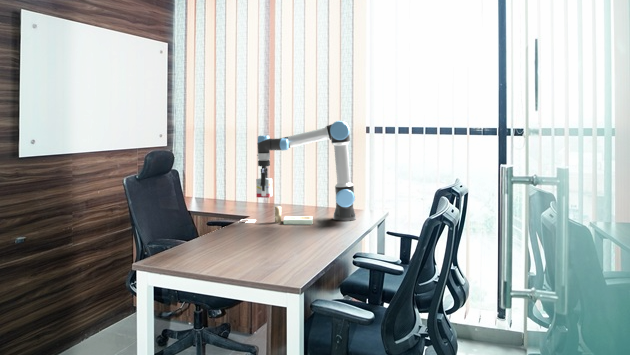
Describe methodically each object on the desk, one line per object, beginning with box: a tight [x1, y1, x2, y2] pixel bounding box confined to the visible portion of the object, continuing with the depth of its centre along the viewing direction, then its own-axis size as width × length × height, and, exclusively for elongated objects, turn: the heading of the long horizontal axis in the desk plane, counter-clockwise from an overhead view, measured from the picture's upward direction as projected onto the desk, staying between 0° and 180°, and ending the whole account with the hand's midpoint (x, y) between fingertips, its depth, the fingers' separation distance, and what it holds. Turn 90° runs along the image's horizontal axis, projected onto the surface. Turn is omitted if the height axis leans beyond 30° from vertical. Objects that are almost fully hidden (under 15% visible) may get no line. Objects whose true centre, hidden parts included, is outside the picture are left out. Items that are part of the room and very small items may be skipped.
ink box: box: [255, 177, 273, 199], centre depth 310 cm, size 9×9×12 cm
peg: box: [274, 206, 282, 224], centre depth 309 cm, size 4×4×10 cm
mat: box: [239, 219, 257, 224], centre depth 313 cm, size 10×10×1 cm
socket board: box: [283, 215, 314, 226], centre depth 309 cm, size 18×12×3 cm, turn 89°
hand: (264, 195), depth 310 cm, fingers closed on ink box, 9 cm apart
